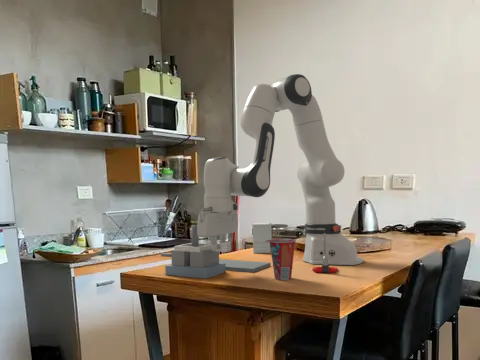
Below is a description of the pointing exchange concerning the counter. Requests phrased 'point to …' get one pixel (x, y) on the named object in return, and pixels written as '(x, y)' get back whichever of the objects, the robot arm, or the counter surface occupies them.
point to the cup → (282, 257)
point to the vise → (194, 261)
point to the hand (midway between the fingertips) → (218, 248)
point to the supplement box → (261, 237)
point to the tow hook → (325, 261)
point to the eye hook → (204, 247)
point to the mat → (244, 265)
